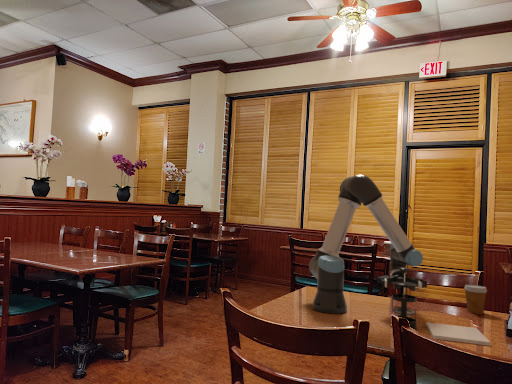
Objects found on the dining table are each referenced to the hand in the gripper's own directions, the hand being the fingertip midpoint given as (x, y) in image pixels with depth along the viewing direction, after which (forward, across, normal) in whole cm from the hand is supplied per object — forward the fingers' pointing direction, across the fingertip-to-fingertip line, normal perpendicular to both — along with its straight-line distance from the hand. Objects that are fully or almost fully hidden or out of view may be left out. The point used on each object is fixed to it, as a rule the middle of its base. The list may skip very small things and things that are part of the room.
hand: (403, 285), depth 160 cm
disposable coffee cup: (-33, -34, -16) cm, 50 cm away
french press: (+10, +1, -15) cm, 18 cm away
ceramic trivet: (+12, -17, -15) cm, 26 cm away
